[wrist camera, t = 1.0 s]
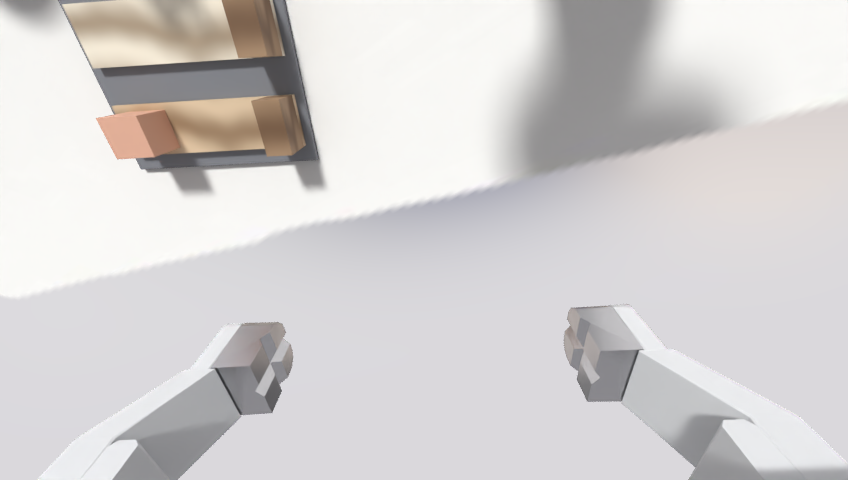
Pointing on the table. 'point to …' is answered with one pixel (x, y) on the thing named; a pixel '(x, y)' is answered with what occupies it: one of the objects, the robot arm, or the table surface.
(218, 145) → the oak strip
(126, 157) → the terracotta cube
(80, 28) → the pale ash strip
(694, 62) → the table surface
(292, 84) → the lane mat
